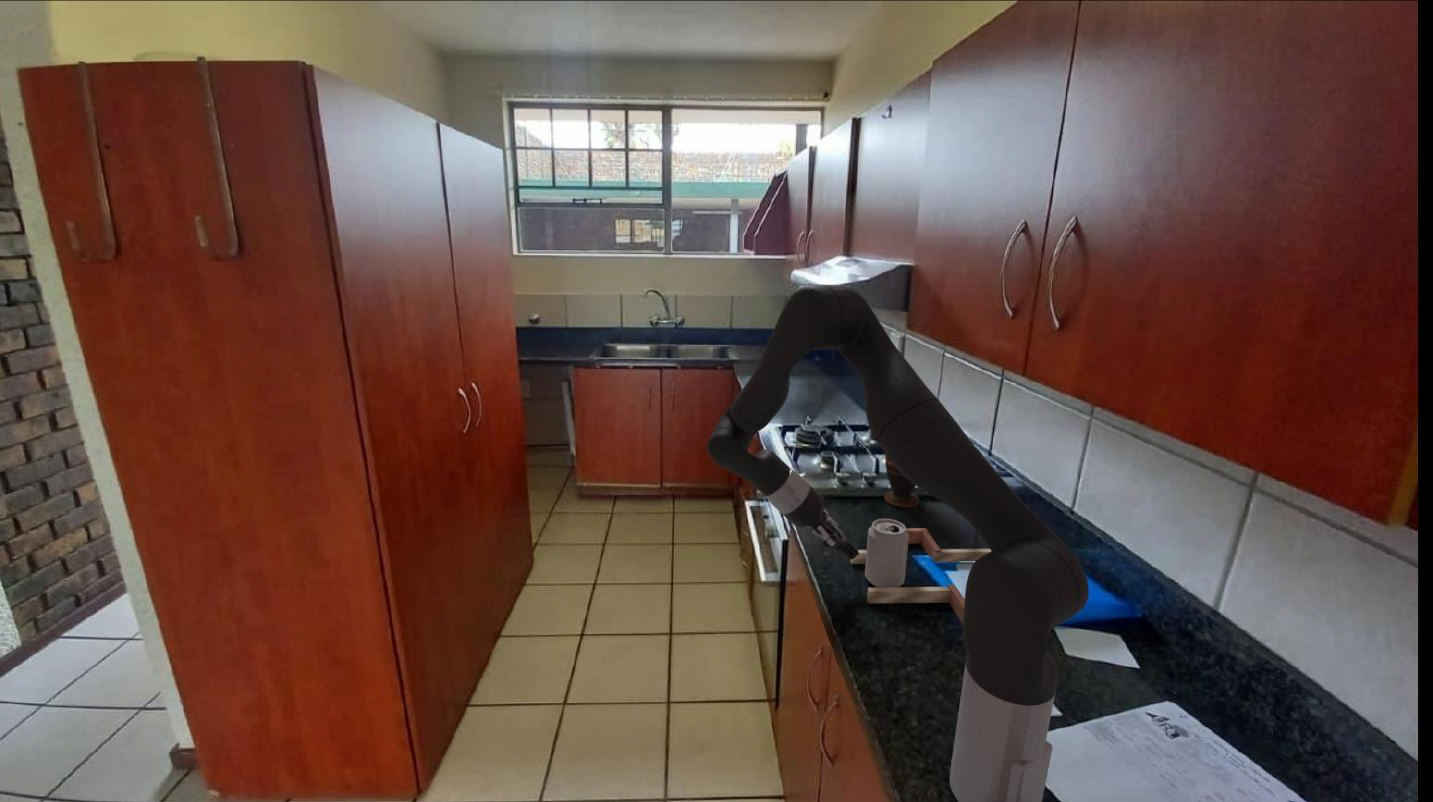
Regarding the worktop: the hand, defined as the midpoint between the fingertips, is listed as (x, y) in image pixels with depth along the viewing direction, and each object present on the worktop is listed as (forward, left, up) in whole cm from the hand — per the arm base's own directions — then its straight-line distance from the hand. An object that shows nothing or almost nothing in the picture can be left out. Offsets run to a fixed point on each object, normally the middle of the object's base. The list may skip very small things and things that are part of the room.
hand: (854, 554), depth 113 cm
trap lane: (-9, -15, -6) cm, 18 cm away
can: (-3, -5, -6) cm, 9 cm away
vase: (+19, -36, -6) cm, 41 cm away
